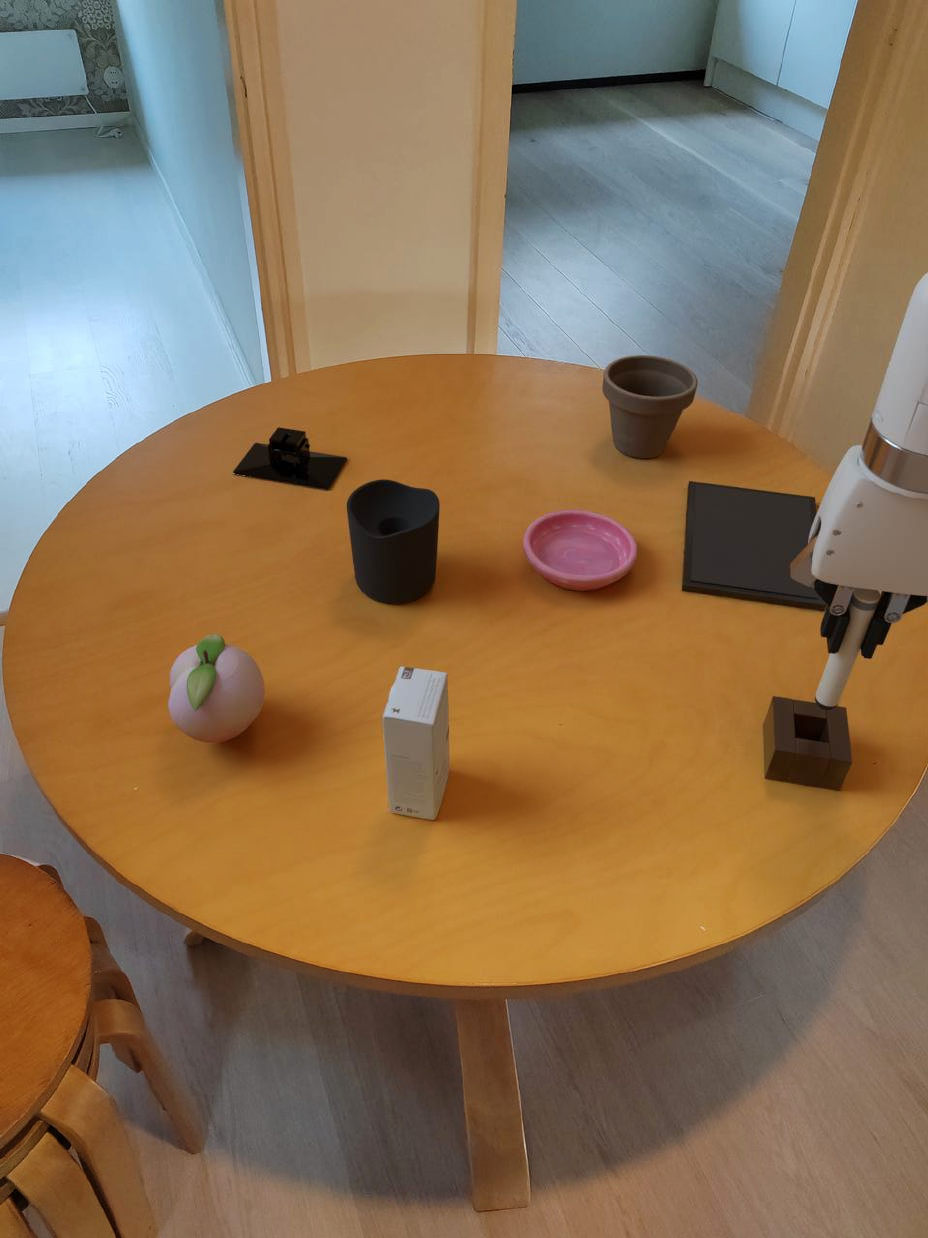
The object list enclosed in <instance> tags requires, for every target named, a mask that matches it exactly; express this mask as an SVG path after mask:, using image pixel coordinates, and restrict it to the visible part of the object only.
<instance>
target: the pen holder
mask: <svg viewBox="0 0 928 1238" xmlns="http://www.w3.org/2000/svg"><path fill="white" fill-rule="evenodd" d="M346 501H347V502H346V514H347V522H348V523H347V524H348V531H349V540H350V548H351V556H352V557H351V558H352V564H353V571H354V576H355V583H356V585H357V587H358V588H359V590H360V591H361V593H363V594H364V595H365V596H367V597H368V598H370V599H372V600H374V601H376V602H379V603H383V604H390V605H397V604H398V605H400V604H406V603H411V602H413V601H416V600H418V599H420V598H422V597H423V596H425V595H426V594H428V592H429V591H430V590H431V589H432V588H433V586H434V584H435V581H436V575H437V564H438V563H437V561H438V546H439V545H438V543H439V527H440V524H439V523H440V507H441V505H440V504H441V503H440V499H439V497H438V495H437V493H435V492H434V491H433V490H432V489H428V488H422V487H414V486H409V485H407V484H404V483H401V482H398V481H397V480H392V479H383V478H381V479H375V480H371V481H369V482H365V483H364V484H362V485H360V486H358V487H357V488H356V489H354V490H353V491H352V492H351V493H350V495H349V496H348V498H347V500H346Z"/></svg>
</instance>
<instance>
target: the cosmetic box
mask: <svg viewBox="0 0 928 1238" xmlns="http://www.w3.org/2000/svg"><path fill="white" fill-rule="evenodd" d="M448 676H449V673H448V672H445V671H439V670H433V669H432V670H431V669H424V668H416V667H409V666H400V667H399V668H398V672H397V674H396V676H395V680H394V682H393V684H392V686H391V688H390V691H389V694H388V699H387V702H386V705H385V707H384V711H383V714H382V733H383V734H382V735H383V745H384V757H385V758H384V759H385V773H386V786H387V788H386V789H387V799H388V800H387V801H388V811H389V813H391V814H397V815H400V816H401V815H402V816H404V817H411V818H417V819H422V820H427V821H434V820H436V818H437V817H438V814H439V811H440V808H441V805H442V802H443V798H444V796H445V791H446V787H447V784H448V779H449V774H450V768H451V766H450V763H451V762H450V711H449V710H450V705H449V683H448V681H449V678H448Z"/></svg>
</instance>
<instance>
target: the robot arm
mask: <svg viewBox="0 0 928 1238" xmlns="http://www.w3.org/2000/svg"><path fill="white" fill-rule="evenodd" d="M899 329H900V330H899V333H898V335H897V339H896V342H895V345H894V347H893V351H892V354H891V357H890V360H889V362H888V366H887V369H886V372H885V375H884V377H883V381H882V384H881V387H880V390H879V392H878V396H877V398H876V399H877V400H876V402H875V405H874V408H873V411H872V415H871V417H870V420H869V423H868V426H867V429H866V432H865V435H864V438H863V442H862V444H854V445H852V446H851V447H850V448H849V449H848V450H847V451H846V453H845V454H844V456H843V457H842V459H841V461H840V463H839V464H838V466H837V468H836V469H835V472H834V473H833V476H832V478H831V479H830V482H829V484H828V485H827V489H826V490H825V492H824V495H823V497H822V500H821V502H820V504H819V507H818V508H817V510H816V511H817V514H816V516H815V519H814V522H813V524H812V527H811V530H810V534H809V540H808V545H807V546H806V547H805V548H804V549H803V550H802V551H801V553H800V554H799V555H798V556H797V557H796V558H795V559H794V560H793V561H792V562H791V564H790V576H791V578H792V579H793V580H795V581H798V582H800V583H802V584H804V585H806V586H808V587H812V588H814V589H815V591H816V593H817V594H818V595H819V596H820V597H821V598H822V599H823V601H824V602H825V603H826V608H825V610H824V614H823V617H822V618H821V623H820V627H819V631H820V637H821V638H826V646H827V653H828V654H831V653H832V654H835V653H838V652H839V649H840V646H841V644H842V641H843V638H844V636H845V633H846V630H847V628H848V625H849V622H850V613H849V602H850V599H851V597H852V594H853V591H854V589H855V587H856V588H863V589H871V590H878V591H879V592H880V596H881V597H880V601H879V603H878V606H877V608H876V610H875V613H874V615H873V618H872V620H871V623H870V625H869V628H868V630H867V633H866V635H865V638H864V640H863V643H862V646H861V648H860V655H861V657H863V658H864V659H867V660H871V659H872V658H873V655H874V654H875V652H876V649H877V646H883V645H884V643H885V641H886V639H887V636H888V633H889V631H890V630H891V629H890V628H891V626H892V625H893V624H896V623H898V622H899V621H901V619H902V616H903V615H905V614H907V613H909V612H912V611H914V610H916V609H918V608H921V607H923V606H925V605H926V604H927V603H928V272H926V273H925V274H924V275H922V277H921V278H920V280H919V281H918V282H917V284H916V285H915V287H914V290H913V292H912V295H911V297H910V299H909V302H908V306H907V309H906V312H905V314H904V317H903V321H902V324H901V327H900V328H899Z"/></svg>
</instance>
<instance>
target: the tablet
mask: <svg viewBox="0 0 928 1238" xmlns="http://www.w3.org/2000/svg"><path fill="white" fill-rule="evenodd" d="M816 503H817V502H816V497H815V496H808V495H802V494H801V495H800V494H794V493H786V492H778V491H770V490H763V489H755V488H749V487H748V488H747V487H739V486H731V485H725V484H724V485H723V484H715V483H708V482H701V481H694V480H693V481H692V480H689V481H688V484H687V495H686V511H685V512H686V513H685V527H684V528H685V529H684V542H683V543H684V544H683V545H684V546H683V559H682V560H683V562H682V575H681V576H682V577H681V591H683V592H689V593H695V594H701V595H702V594H703V595H710V596H715V597H723V598H724V597H725V598H731V599H738V600H745V601H751V602H758V603H766V604H772V605H780V606H785V607H793V608H800V609H806V610H807V609H808V610H813V611H821V612H825V611H826V608H827V604H826V603H825V602H824V601H823V599H822V598H821V597H820V596H819V595H818V594H817V593H816V591H815V589H814V588H812V587H808V586H806V585H804V584H802V583H800V582H798V581H795V580H793V579H792V578H791V576H790V564H791V562H792V561H793V560H794V559H795V558H796V557H797V556H798V555H799V554H800V553H801V551H802V550H803V549H804V548H805V547H806V546H807V545H808V540H809V534H810V530H811V527H812V524H813V522H814V519H815V516H816V514H817V511H818V510H817V504H816Z"/></svg>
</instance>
